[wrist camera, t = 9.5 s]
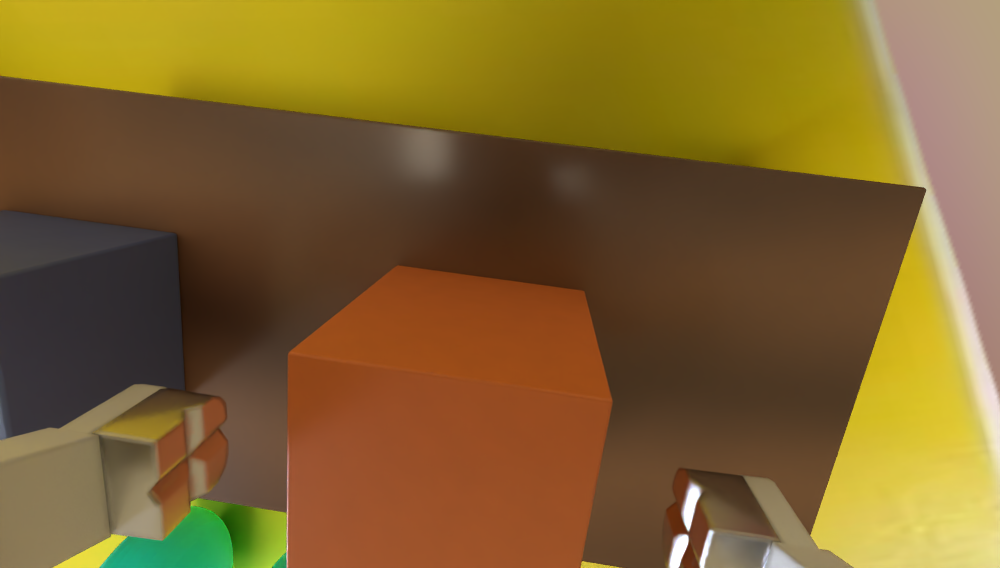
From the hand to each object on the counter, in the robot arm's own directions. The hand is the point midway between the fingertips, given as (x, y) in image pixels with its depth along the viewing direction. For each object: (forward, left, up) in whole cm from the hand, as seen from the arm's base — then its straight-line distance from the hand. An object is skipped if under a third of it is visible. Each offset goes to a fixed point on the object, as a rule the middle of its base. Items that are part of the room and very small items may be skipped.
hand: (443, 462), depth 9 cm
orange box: (0, 0, -5) cm, 5 cm away
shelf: (0, -3, -15) cm, 15 cm away
